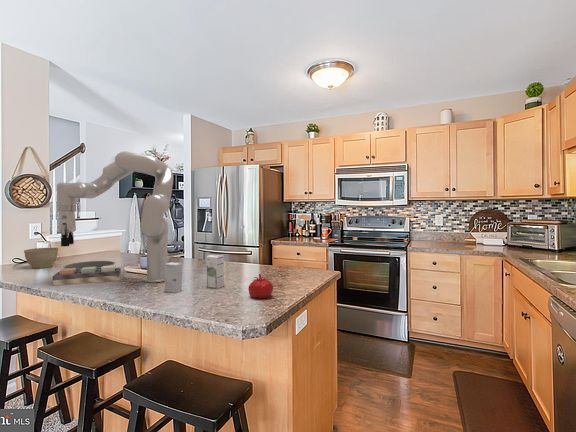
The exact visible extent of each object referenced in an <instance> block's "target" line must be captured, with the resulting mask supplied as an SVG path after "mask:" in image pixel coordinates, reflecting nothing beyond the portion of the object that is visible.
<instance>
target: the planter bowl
mask: <svg viewBox="0 0 576 432" xmlns="http://www.w3.org/2000/svg"><path fill="white" fill-rule="evenodd" d="M23 252H24V257H25V260H26V262H27V263H28V265H30V266H31V268H32V269H46V268H50V267H52V266H53V264H54V263H55V261H56V260H57V258H58V252H59V247H38V248H36V247H35V248H30V249H24V251H23Z"/></svg>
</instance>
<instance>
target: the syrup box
mask: <svg viewBox="0 0 576 432" xmlns="http://www.w3.org/2000/svg"><path fill="white" fill-rule="evenodd" d="M224 257H225V256H224V254H215V253H214V254H209V255H207V256H206V288H210V289H217V290H218V289H220V288H222V287H224V286H225V268H224V267H225V260H224V259H225V258H224Z"/></svg>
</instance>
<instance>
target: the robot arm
mask: <svg viewBox="0 0 576 432" xmlns="http://www.w3.org/2000/svg"><path fill="white" fill-rule="evenodd" d="M135 172H136V173H141V174H144V175H145V174H146V175H148V176H149V175H150V176H153V177H154V178H155V181H154V185H153V191H152V194H151V195H149V196H147V197H146V199H145V200H144V202H143V207H142V212H141V217H140V232H141V233H142V235H143V236H144V237H146V277H144V278H143V282H144V283H153V284H154V283H162V282H164V283H165V264H167V263H168V236H169V224H168V221H167V220H166V219H165V218H164V214H166V213H167V212H168V211H169V210H170V206H171V199H172V193H173V186H174V173H173V170H172V169H171V167H170V166H168V164H167V163H165V162H164V161H162V160H161V159H158V158H156V157H154V156H151V155H147V154H140V153H134V152H132V151H120V152H119V153H117V154H116V155H115V157H114V161H113V162H111V163H109V164H108V165H105V167H103V168H102V174H101V175H100V176H98V178H97V179H95V180H93V181H91V182H89V183H88V182H82V181H80V182H79V181H78V182H58V183H57V184H56V210H57V211H56V212H57V213H59V232H60V233H61V235H60V246H61V247H70V245H74V243H75V242H74V238H75V237H74V232H76V231H77V223H76V212H77V198H78V199H88V200H89V199H95V198H96V197H99V196H100V195H103V194H104V193H106V192H107V191H109V190H110V189H111V188H112V187H113V186H114V185H115V184H116V183H117V182H119V181H120V180H123V179H124V178H126V177H128V176H130V175H131V174H133V173H135Z"/></svg>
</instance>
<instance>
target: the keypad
mask: <svg viewBox="0 0 576 432" xmlns="http://www.w3.org/2000/svg"><path fill="white" fill-rule="evenodd" d="M121 271H122V268H121V267H115V271H108V272H101V269H96V271H95V272H94V273H81V270H79V271H76V273H75V274H67V275H60V271H58V272H56V273H55V274H54V275H52V287H53V286H54V287H55V286H56V287H57V286H67V284H68V285H76V284H78V285H79V284H89V283H90V284H92V283H104V282H112V281H113V282H114V281H116V282H117V281H120V278H122V272H121Z"/></svg>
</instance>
